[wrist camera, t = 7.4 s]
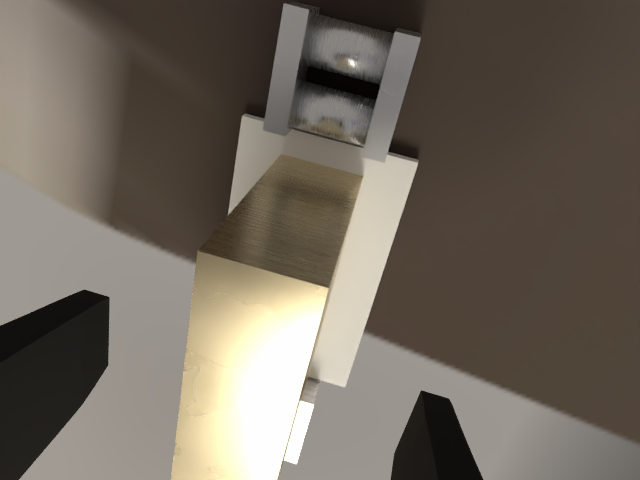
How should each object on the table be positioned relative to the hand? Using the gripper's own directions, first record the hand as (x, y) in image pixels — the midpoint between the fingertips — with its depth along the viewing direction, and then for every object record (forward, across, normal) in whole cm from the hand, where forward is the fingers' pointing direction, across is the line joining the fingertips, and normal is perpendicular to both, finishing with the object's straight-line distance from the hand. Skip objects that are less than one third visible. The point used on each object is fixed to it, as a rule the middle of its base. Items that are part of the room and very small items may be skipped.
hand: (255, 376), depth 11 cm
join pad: (+5, 0, 0) cm, 5 cm away
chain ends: (+5, 0, 0) cm, 5 cm away
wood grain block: (+5, 0, 0) cm, 5 cm away
